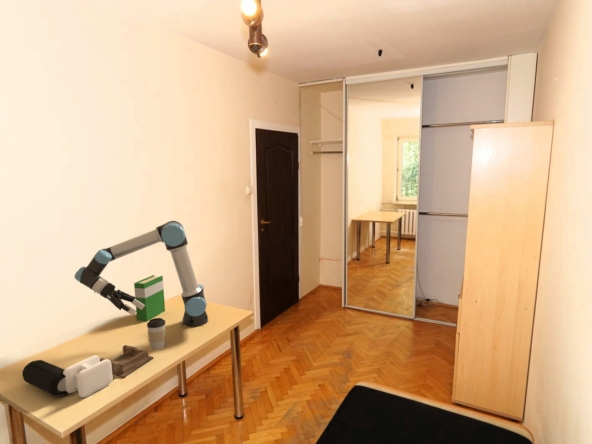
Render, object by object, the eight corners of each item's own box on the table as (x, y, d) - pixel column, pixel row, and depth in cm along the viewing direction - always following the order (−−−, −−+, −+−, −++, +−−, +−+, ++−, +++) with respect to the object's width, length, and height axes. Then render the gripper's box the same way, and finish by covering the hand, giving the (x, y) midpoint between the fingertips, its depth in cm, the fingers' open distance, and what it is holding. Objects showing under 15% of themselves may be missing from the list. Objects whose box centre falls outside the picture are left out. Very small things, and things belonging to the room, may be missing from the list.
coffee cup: (148, 344, 195) (146, 318, 193) (166, 341, 199) (164, 315, 196) (149, 352, 187) (146, 324, 185) (167, 348, 190) (165, 321, 188)
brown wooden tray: (97, 370, 170) (96, 360, 169) (128, 352, 187) (127, 343, 186) (123, 378, 164) (122, 367, 163) (153, 358, 180) (152, 349, 180)
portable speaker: (79, 390, 156) (76, 368, 154) (55, 403, 147) (52, 380, 145) (45, 375, 167) (43, 354, 166) (21, 386, 159) (18, 365, 157)
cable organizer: (79, 402, 147) (76, 375, 146) (64, 394, 152) (61, 368, 151) (113, 383, 160) (111, 358, 158) (99, 376, 165) (96, 352, 164)
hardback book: (155, 309, 244) (153, 275, 241) (165, 310, 242) (162, 275, 239) (137, 320, 228) (134, 283, 224) (147, 321, 225) (144, 284, 222)
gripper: (109, 290, 202) (142, 311, 204) (89, 298, 177) (126, 322, 179) (117, 279, 203) (150, 299, 204) (98, 285, 178) (135, 309, 179)
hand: (139, 310), depth 192 cm, fingers open, 13 cm apart
